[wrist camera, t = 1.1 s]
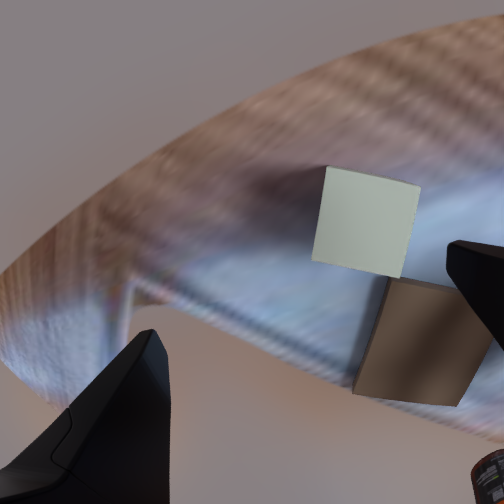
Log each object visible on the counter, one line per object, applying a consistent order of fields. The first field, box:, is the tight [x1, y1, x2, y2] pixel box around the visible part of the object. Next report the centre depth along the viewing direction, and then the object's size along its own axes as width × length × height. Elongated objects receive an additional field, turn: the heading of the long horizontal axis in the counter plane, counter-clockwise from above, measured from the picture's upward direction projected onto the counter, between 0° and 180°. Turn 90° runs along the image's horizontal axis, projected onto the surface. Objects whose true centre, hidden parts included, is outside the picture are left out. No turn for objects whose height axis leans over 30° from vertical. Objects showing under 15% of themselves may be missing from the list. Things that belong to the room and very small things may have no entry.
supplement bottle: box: [471, 449, 504, 504], centre depth 17 cm, size 6×6×11 cm
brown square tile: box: [352, 276, 494, 407], centre depth 21 cm, size 10×10×1 cm
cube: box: [311, 165, 421, 278], centre depth 18 cm, size 5×5×5 cm
